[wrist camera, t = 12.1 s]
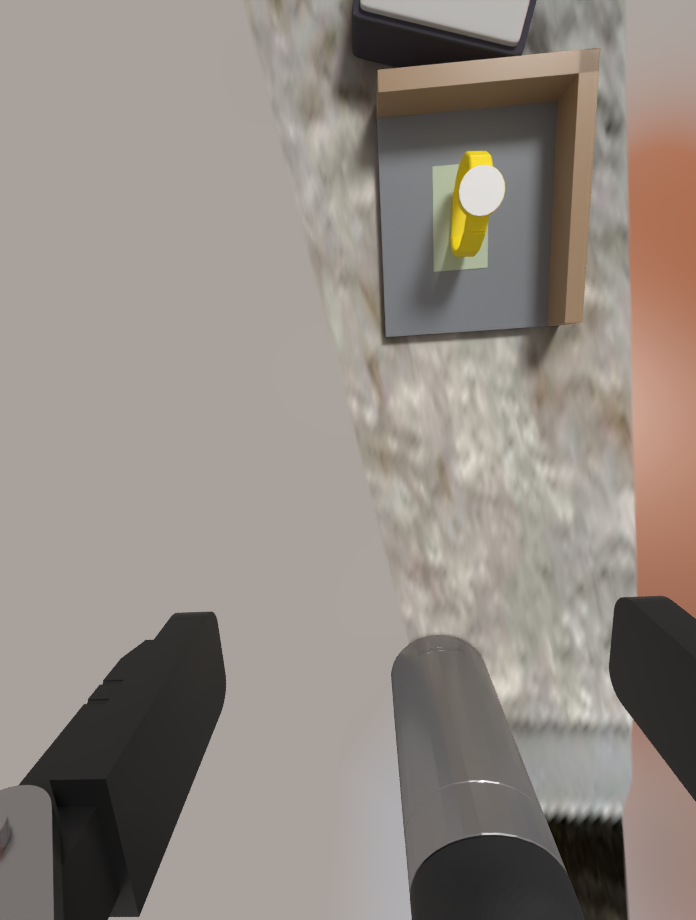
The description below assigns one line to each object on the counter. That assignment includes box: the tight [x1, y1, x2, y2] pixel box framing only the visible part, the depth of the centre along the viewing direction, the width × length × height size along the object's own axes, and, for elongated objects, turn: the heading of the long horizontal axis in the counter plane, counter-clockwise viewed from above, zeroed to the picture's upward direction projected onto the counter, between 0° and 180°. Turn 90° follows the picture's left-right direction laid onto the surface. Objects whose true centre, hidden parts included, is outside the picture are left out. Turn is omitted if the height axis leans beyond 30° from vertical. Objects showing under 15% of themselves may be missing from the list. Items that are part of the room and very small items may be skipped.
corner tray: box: [376, 48, 600, 337], centre depth 30 cm, size 16×14×4 cm
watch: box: [450, 151, 505, 257], centre depth 28 cm, size 6×3×6 cm, turn 0°
